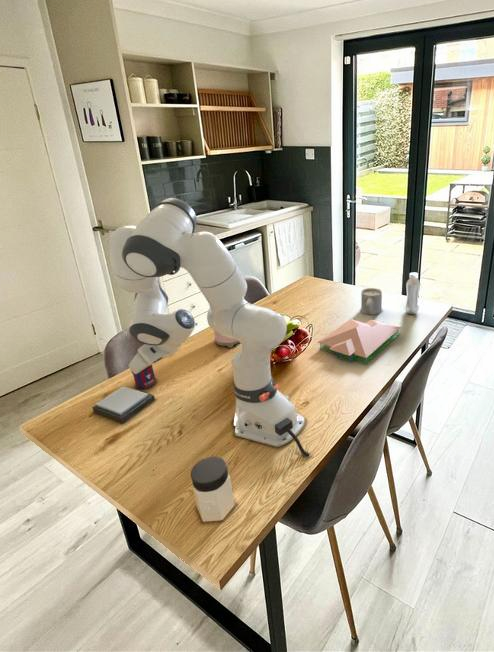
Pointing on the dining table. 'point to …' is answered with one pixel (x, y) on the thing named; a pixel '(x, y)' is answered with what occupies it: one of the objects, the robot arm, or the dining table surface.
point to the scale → (123, 404)
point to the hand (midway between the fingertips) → (149, 363)
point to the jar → (212, 489)
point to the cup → (145, 378)
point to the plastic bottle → (412, 294)
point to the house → (359, 338)
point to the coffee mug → (371, 301)
